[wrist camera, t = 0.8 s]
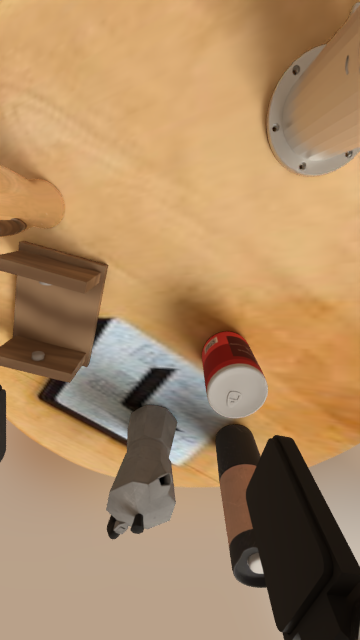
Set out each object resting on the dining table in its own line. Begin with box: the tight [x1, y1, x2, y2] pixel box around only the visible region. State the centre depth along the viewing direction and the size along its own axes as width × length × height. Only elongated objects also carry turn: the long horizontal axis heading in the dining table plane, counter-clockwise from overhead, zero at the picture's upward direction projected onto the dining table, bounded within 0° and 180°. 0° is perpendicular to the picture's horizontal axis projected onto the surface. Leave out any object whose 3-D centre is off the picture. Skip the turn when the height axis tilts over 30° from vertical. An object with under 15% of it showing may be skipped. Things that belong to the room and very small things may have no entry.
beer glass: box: [0, 165, 65, 238], centre depth 29 cm, size 7×7×15 cm
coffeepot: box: [106, 405, 177, 539], centre depth 41 cm, size 15×9×18 cm, turn 144°
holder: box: [0, 241, 108, 383], centre depth 38 cm, size 17×12×7 cm
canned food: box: [202, 331, 268, 418], centre depth 38 cm, size 8×8×11 cm
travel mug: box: [216, 425, 267, 588], centre depth 41 cm, size 8×8×20 cm
